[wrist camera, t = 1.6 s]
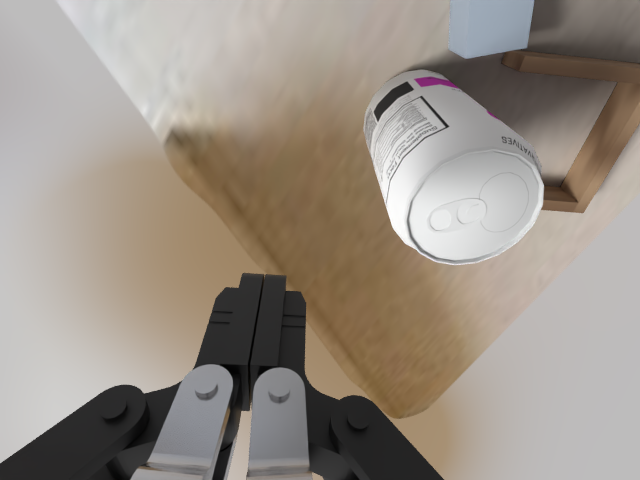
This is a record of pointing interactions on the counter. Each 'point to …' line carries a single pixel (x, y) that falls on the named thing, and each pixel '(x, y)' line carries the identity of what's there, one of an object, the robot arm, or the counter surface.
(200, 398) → the robot arm
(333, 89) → the counter surface
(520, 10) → the slate-blue block
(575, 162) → the frame
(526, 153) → the supplement can
